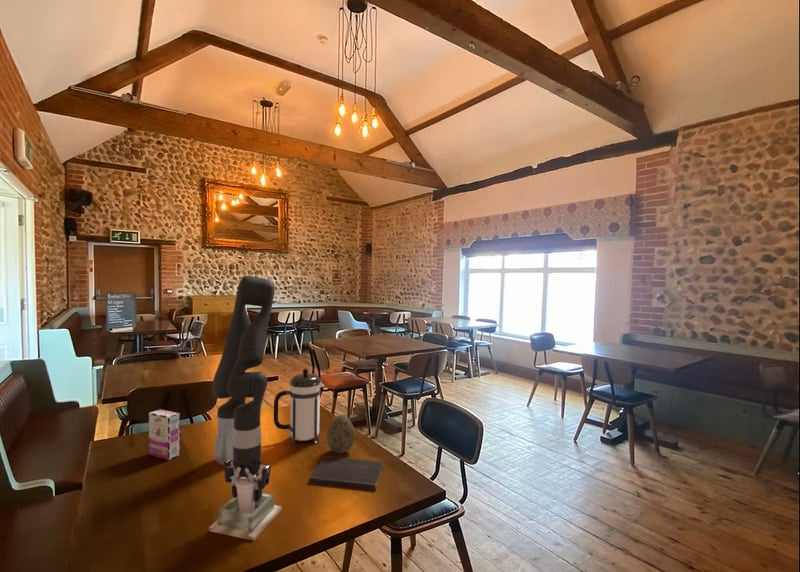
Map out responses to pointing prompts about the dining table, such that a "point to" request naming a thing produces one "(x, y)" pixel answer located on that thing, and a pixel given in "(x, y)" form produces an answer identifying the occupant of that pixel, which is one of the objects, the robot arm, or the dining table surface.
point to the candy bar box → (164, 434)
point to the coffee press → (302, 407)
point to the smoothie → (245, 494)
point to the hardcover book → (348, 473)
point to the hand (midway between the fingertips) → (246, 498)
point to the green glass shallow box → (245, 518)
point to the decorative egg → (340, 434)
